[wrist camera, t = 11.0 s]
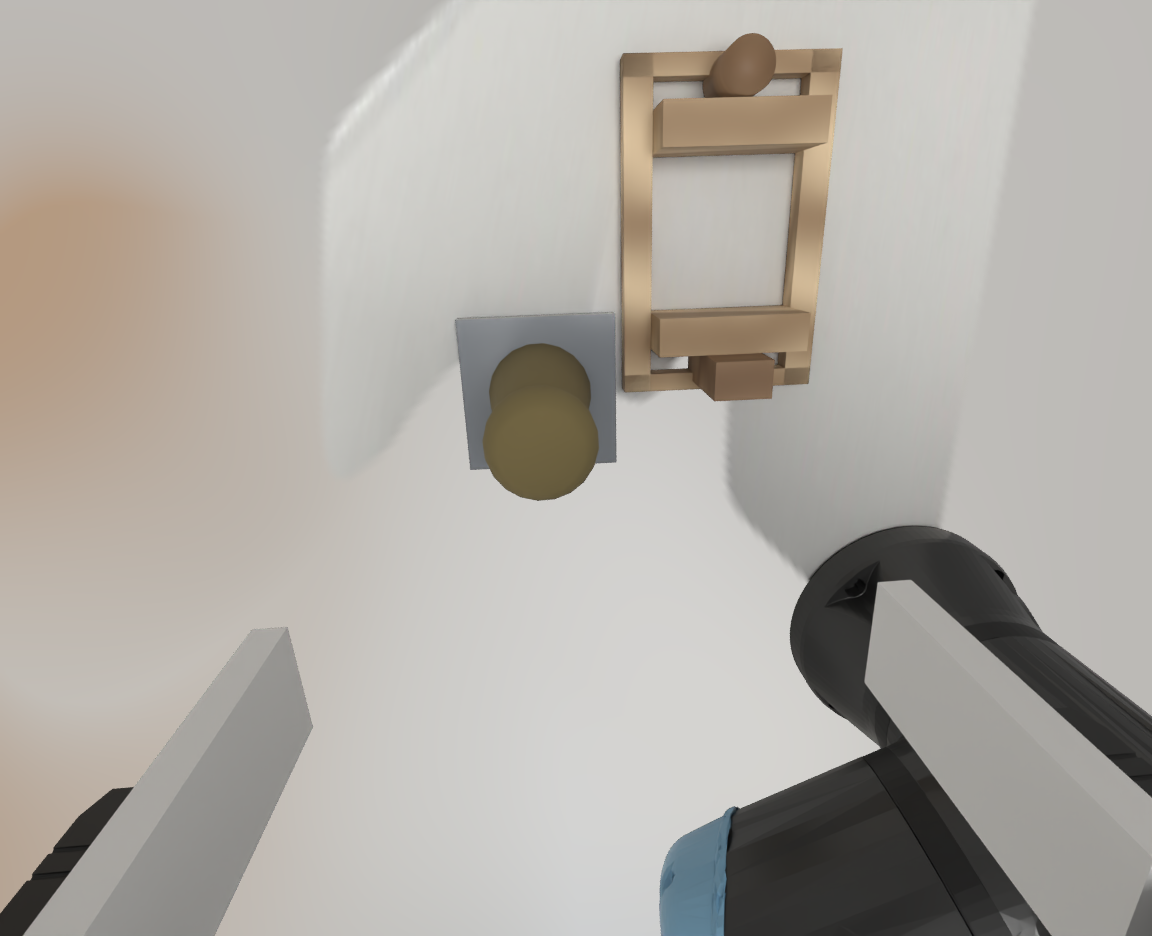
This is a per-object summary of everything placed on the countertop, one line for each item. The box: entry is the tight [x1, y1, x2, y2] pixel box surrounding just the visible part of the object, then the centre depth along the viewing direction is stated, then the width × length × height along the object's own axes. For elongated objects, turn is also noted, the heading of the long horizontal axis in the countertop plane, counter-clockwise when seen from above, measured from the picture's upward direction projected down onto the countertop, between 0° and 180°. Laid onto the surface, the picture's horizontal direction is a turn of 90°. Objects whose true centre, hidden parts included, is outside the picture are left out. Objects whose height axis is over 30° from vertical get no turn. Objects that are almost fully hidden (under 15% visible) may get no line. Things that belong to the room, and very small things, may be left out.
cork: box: [482, 343, 599, 501], centre depth 31 cm, size 6×6×11 cm
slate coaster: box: [455, 312, 616, 470], centre depth 37 cm, size 9×9×1 cm
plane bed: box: [620, 33, 843, 401], centre depth 32 cm, size 17×11×6 cm, turn 2°
